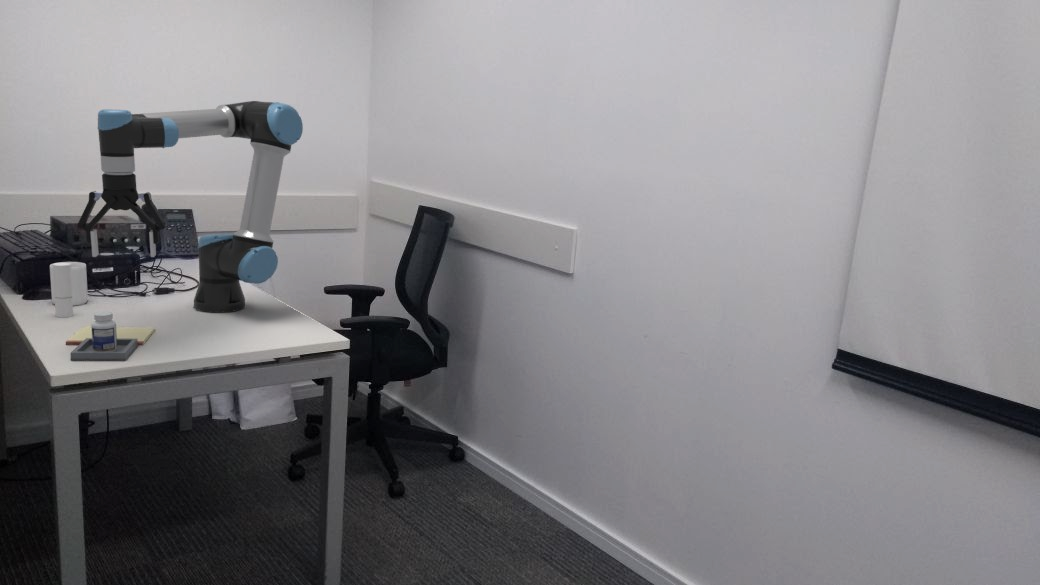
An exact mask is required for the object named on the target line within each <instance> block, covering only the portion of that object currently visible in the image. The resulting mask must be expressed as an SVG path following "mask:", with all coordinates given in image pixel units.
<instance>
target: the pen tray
mask: <svg viewBox="0 0 1040 585" xmlns="http://www.w3.org/2000/svg"><path fill="white" fill-rule="evenodd" d="M136 347H139V345H138V339H119V338H117V350H116V351H115V352H93V343H92V338H86V339H85V340H84V341H83V342H82V343H81V344H79V345H76V347H75V348H73V350H71V351H70V361H71V360H73V361H74V362H79V361H80V362H83V361H84V360H89V361H90V360H91V361H90V362H92V360H93V361H95V362H103V361H105V362H106V361H108V362H109V361H110V362H111V361H113V362H115V361H116V362H124V361H125V362H126V360H128V358H129V357H130V356H131V355H132V354H133V352H134V351H135V350H136V349H137V348H136ZM135 348H136V349H135ZM130 354H131V355H130ZM77 360H78V361H77ZM82 360H83V361H82ZM89 361H88V362H89Z"/></svg>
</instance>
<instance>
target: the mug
mask: <svg viewBox="0 0 1040 585" xmlns="http://www.w3.org/2000/svg"><path fill="white" fill-rule="evenodd" d="M58 263H70V267H71V285H72V303H73V307H74V306H76V307H77V306H81V305H84V304H86V303H87V302H88V299H89V297H88V295H89V294H88V279H87V264H86V263H85V262H81V261H62V262H58ZM53 264H54V263H51V264H50V265H49V276H50V277H49V278H50V289H51V291H50V292H51V302H52V304H53V305H55V294H54V277H53Z"/></svg>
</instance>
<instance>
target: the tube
mask: <svg viewBox="0 0 1040 585" xmlns="http://www.w3.org/2000/svg"><path fill="white" fill-rule="evenodd" d="M52 264H53V277H54V294H55V304H54V305H55V306H54V308H55V310H54V311H55V317H56V318H70V317H73V316H74V306H73V303H72V285H71V267H70V263H59V262H55V263H52Z"/></svg>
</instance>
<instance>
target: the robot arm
mask: <svg viewBox="0 0 1040 585" xmlns="http://www.w3.org/2000/svg"><path fill="white" fill-rule="evenodd" d="M303 125H304V124H303V120H302V118H301V116H300V114H299V111H297V109H295V107H293V106H291V105H290V104H286V103H281V102H276V101H275V102H272V101H259V100H250V101H249V100H248V101H243V102H236V103H229V104H220V105H217V106H216V108H210V109H209V108H208V109H207V108H206V109H192V110H180V111H179V110H178V111H177V110H176V111H163V112H161V111H159V112H146V113H145V112H144V113H131V111H130V110H127V109H111V108H109V109H108V108H107V109H106V108H105V109H101V110H99V111H98V113H97V131H98V141H99V152H100V166H101V167H100V169H101V172H102V175H101V181H102V192H97V191H96V190H91V192H89V193H88V202H87V203H86V206H85V207H84V210H83V212H82V214H81V216H80V218H79V220H78V223H77V224H76V227H77V228H78V229H81V230H84V231H85V234H86V242H87V244H91V256H92V258H97V257H98V256H99V252H100V251H99V241H98V229H94V228H95V227H96V226H97V224H98V223H99V222H100V221H101V220H102V219H103V218H104V217H105V216H106V214H107V213H108V212H109V211H110V209H112V210H113V211H120V210H121V211H129V210H131V211H132V212H133V213H135V215H137V217H139V219H141V221H142V222H143V223H144V224H145V225H146V226H147V227H148V228H149V229H150V231H149V232H148V234H149V235H148V237H149V249H150V250H149V251H150V258H155V256H156V255H157V247H156V244H157V245H158V244H159V243H160V231H162V230H165V228H166V227H167V224H166V222H165V220H164V219H163V217H162V215H161V213H160V211H159V210H158V208H157V207H156V205H155V204H154V201H153V199H152V194H151V193H150V192H149V191H147V192H143V193H138V189H137V180H136V179H137V176H136V174H135V173H134V172H136V163H135V162H136V160H135V149H159V148H162V149H165V148H173V147H175V146H176V145H177V144H178V141H179V140H180V139H189V138H198V137H199V138H200V137H210V136H221V137H223V138H224V139H225V138H227V139H228V138H240V139H247V140H248V139H249V141H250V142H249V144H250V146H251V147H252V149H253V155H252V161H251V166H250V172H249V178H248V183H247V189H246V194H245V199H244V204H243V208H242V209H243V210H242V214H241V220H240V224H239V229H238V230H237V231H235V232H233V233H231V232H230V233H229V232H227V233H214V234H213V233H211V234H204V235H203V234H202V236H200V237H199V239H198V246H197V249H198V269H199V270H198V273H199V283H198V287H197V288H196V289H197V290H196V293H195V295H194V299H193V308H194V309H195V310H197V311H199V312H200V311H201V312H206V313H229V312H230V313H231V312H236V311H240V310H243V309H244V308H246V297H245V295H244V292H243V289H242V286H241V283H240V281H242V282H243V283H246V284H247V283H248V284H256V285H257V284H263V283H266V282H267V281H268V280H269V279H271V278H272V277H273V275H274V273H275V272H276V270H277V268H278V264H279V257H278V255H277V253H276V251H275V250H274V249H273V245H274V240H273V239H272V237H271V235H270V234H271V228H272V223H273V216H274V212H275V208H276V207H275V206H276V200H277V195H278V191H279V186H280V185H279V184H280V181H281V180H280V179H281V174H282V169H283V165H284V158H285V157H286V156H288V155H289V154H290V153H291V150H292V145H294V144H296V143H297V142H298V141H299V140H300V139H301V137H302V135H303V129H304V128H303V127H304V126H303ZM100 199H102V200H103V201H104V202H105V204H104V205H103V207H102V208H101V209H100V210H99V211H98V213H97V214H96V215H94V217H93V218H92V219H91V221H90V222H89V223H87V222H88V220H89V218H90V216H91V213H92V212H93V209H94V207H95V206H96V203H97V202H98V201H99V200H100ZM139 199H140V200H141V201H142V202H144V203H145V206H146V207H147V209H148V211H149V212H150V215H151V216H152V217H153V219H154V220H155V221H154V220H153V219H152V218H151V217H150V216H149V215H148V214H147V213H146V212H145V211H144V210H143V209H142V208H141V206H140V205H139V204H138V203H137V201H138V200H139Z"/></svg>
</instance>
